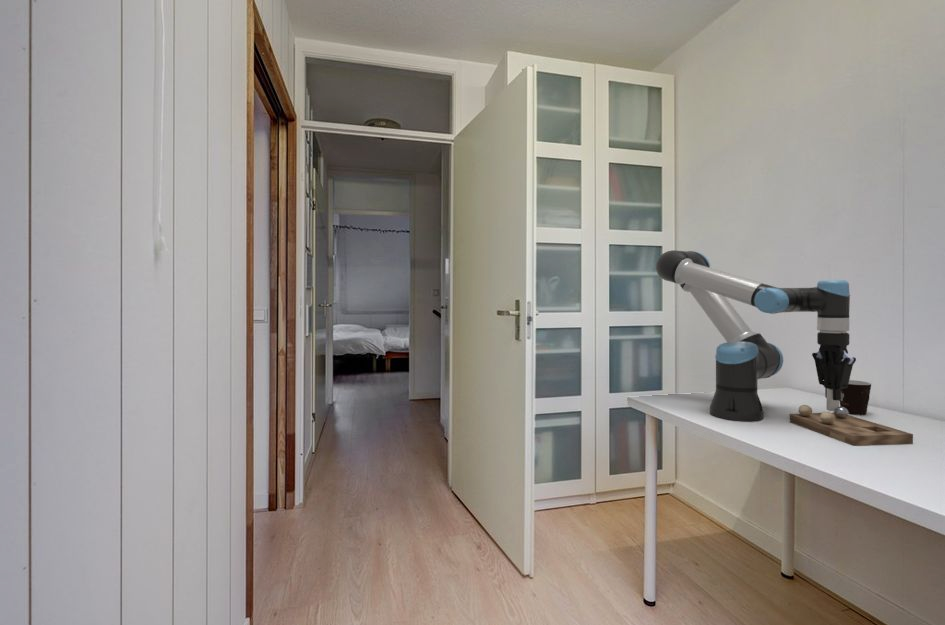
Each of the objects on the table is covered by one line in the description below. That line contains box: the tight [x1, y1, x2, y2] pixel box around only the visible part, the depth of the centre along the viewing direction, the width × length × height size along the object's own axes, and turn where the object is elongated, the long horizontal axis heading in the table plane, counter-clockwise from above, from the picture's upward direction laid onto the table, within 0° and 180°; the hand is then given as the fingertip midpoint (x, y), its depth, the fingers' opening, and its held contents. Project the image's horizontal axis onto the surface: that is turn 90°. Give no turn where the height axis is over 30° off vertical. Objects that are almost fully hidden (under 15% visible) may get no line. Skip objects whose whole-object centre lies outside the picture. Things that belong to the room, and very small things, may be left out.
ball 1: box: [797, 404, 813, 416], centre depth 135 cm, size 3×3×3 cm
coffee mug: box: [839, 379, 872, 416], centre depth 146 cm, size 12×9×10 cm
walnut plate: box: [789, 412, 914, 446], centre depth 128 cm, size 16×22×2 cm
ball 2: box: [820, 411, 835, 424], centre depth 127 cm, size 3×3×3 cm
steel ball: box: [833, 405, 850, 418], centre depth 133 cm, size 3×3×3 cm
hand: (832, 410), depth 136 cm, fingers closed
